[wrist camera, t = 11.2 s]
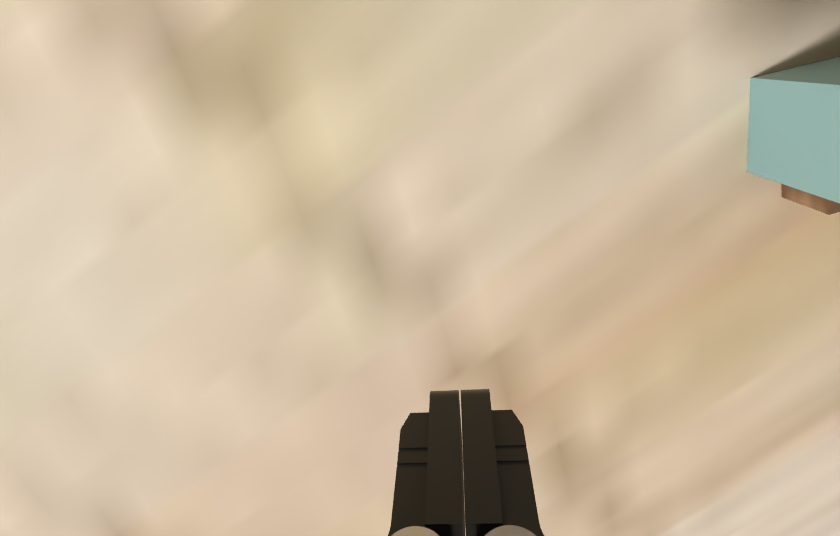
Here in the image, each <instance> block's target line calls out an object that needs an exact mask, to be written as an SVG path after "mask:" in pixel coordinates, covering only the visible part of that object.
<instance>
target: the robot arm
mask: <svg viewBox="0 0 840 536" xmlns="http://www.w3.org/2000/svg"><path fill="white" fill-rule="evenodd" d="M461 410H462V432H461V417H460V403H459V391H458V390H453V391H431V392H430V407H429V413H410V415H409V416H408V418H407V420H406V421H405V423H404V425H403V426H402V428H401V431H400V441H399V452H398V461H397V471H396V481H395V491H394V500H393V510H392V520H391V527H390V531H389V534H388V536H465V526H466V536H544V535H543V533H542V530H541V528H540V524H539V519H538V513H537V507H536V501H535V495H534V489H533V483H532V477H531V471H530V465H529V459H528V453H527V449H526V441H525V435H524V429H523V425H522V424H521V423H520V421H519V420H518V418H517V417H516V415H515V414H514V412H513V411H512V410H491V402H490V392H489V389H478V390H461ZM462 440H463V450H462ZM463 470H464V480H463ZM464 500H465V511H464Z"/></svg>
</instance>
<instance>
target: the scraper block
mask: <svg viewBox="0 0 840 536" xmlns="http://www.w3.org/2000/svg"><path fill="white" fill-rule="evenodd" d="M747 172H749V173H751V174H754V175H757V176H760V177H763V178H766V179H769V180H772V181H775V182H778V183H781V184H784V185H787V186H790V187H793V188H796V189H799V190H801V191H804V192H807V193H810V194H813V195H816V196H819V197H822V198H825V199H828V200H831V201H834V202H837V203H840V56H839V57H835V58H831V59H827V60H823V61H819V62H815V63H811V64H806V65H802V66H798V67H794V68H790V69H786V70H782V71H778V72H773V73H769V74H765V75H761V76H757V77H753V78H750V102H749V127H748V152H747Z"/></svg>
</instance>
